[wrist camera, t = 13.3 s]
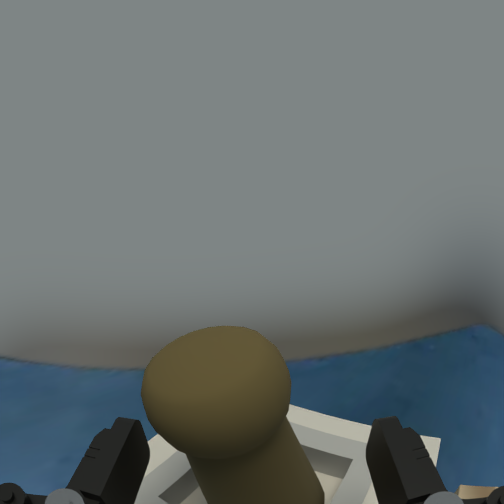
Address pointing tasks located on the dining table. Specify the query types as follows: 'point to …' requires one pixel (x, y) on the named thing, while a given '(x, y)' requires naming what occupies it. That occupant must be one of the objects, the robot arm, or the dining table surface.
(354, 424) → the dock
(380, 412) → the dining table surface
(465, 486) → the tan square frame
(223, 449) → the cork
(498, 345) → the dining table surface
